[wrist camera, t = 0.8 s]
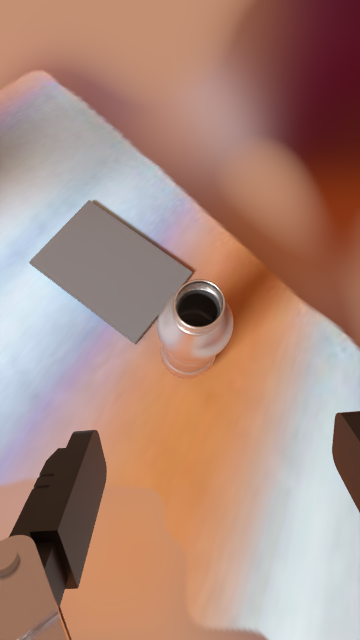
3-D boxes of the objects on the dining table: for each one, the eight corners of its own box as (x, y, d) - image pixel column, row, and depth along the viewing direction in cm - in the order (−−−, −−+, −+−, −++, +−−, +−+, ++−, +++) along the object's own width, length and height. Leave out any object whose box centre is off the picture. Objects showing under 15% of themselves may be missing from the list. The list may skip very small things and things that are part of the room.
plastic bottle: (150, 358, 42) (130, 311, 23) (184, 318, 44) (192, 242, 24) (191, 392, 41) (206, 372, 22) (224, 349, 43) (265, 295, 23)
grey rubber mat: (31, 264, 45) (28, 262, 45) (90, 203, 48) (89, 200, 47) (135, 344, 43) (134, 343, 42) (192, 274, 45) (192, 272, 44)
